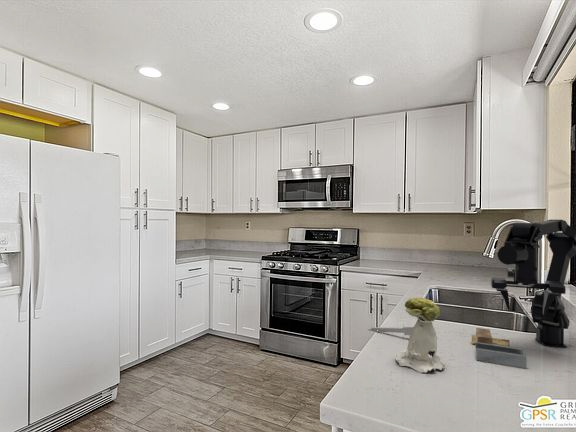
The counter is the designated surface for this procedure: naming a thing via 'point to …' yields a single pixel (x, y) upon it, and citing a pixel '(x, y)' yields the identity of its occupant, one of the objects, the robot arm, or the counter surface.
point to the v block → (501, 355)
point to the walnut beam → (484, 336)
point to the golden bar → (495, 341)
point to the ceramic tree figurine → (422, 337)
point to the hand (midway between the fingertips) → (526, 312)
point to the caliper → (393, 330)
